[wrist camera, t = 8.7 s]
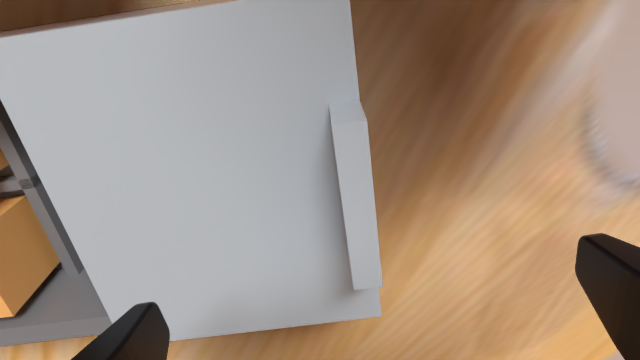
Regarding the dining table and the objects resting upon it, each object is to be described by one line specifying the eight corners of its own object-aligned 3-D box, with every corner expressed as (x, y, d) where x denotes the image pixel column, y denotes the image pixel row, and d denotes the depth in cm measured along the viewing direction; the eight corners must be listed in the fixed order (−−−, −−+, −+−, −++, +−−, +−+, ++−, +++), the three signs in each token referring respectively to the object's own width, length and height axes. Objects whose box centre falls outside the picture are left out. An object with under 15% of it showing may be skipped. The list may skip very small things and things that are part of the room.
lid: (378, 303, 18) (389, 355, 16) (130, 332, 19) (103, 388, 16) (345, -17, 13) (354, -13, 10) (-9, 38, 13) (-85, 55, 11)
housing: (365, 236, 23) (378, 301, 18) (-47, 288, 24) (-128, 361, 20) (336, -22, 17) (345, -17, 13) (-203, 63, 18) (-369, 95, 14)
